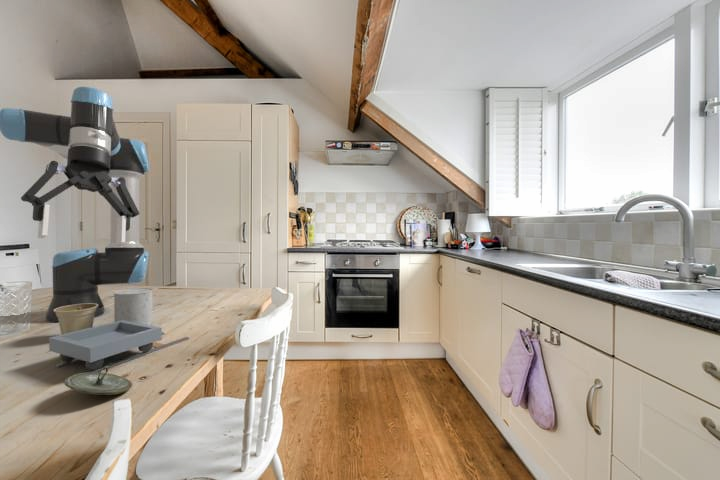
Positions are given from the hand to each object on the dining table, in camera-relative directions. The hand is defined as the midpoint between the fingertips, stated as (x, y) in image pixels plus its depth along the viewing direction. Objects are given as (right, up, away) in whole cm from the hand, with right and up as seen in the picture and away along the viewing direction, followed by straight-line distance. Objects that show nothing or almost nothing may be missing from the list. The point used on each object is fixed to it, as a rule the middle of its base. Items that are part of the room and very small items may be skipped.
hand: (84, 240), depth 69 cm
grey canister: (-8, -28, +26) cm, 39 cm away
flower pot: (-20, -28, +20) cm, 40 cm away
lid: (+11, -29, -10) cm, 33 cm away
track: (+2, -28, +11) cm, 30 cm away
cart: (0, -28, +6) cm, 29 cm away
